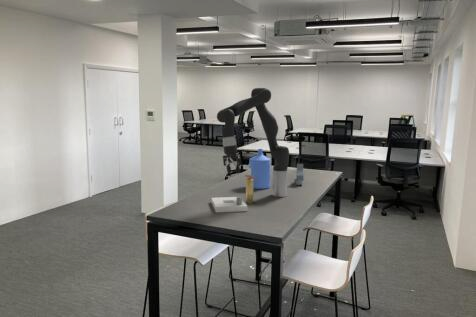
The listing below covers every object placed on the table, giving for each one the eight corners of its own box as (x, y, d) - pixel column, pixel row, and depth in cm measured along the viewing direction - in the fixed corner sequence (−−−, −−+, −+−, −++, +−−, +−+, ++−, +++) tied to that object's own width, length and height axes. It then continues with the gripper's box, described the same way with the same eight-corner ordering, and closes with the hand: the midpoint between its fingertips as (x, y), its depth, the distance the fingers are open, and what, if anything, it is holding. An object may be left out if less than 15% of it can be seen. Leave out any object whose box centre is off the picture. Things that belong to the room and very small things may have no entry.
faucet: (295, 192, 312) (294, 183, 284) (296, 172, 317) (295, 161, 289) (303, 192, 311) (303, 183, 283) (304, 173, 316) (304, 162, 287)
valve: (242, 202, 238) (242, 175, 235) (248, 201, 242) (248, 174, 239) (250, 204, 233) (250, 177, 231) (256, 203, 237) (256, 175, 235)
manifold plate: (211, 202, 237) (211, 191, 236) (240, 201, 241) (240, 190, 240) (215, 212, 216) (215, 200, 215) (247, 211, 219) (247, 199, 218)
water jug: (274, 186, 285) (275, 149, 281) (262, 190, 273) (263, 151, 269) (256, 183, 294) (257, 147, 290) (244, 187, 282) (245, 149, 278)
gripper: (242, 143, 214) (246, 172, 215) (227, 144, 225) (231, 171, 226) (231, 145, 209) (236, 174, 211) (217, 146, 221) (221, 174, 222)
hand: (233, 173), depth 219 cm, fingers open, 8 cm apart
